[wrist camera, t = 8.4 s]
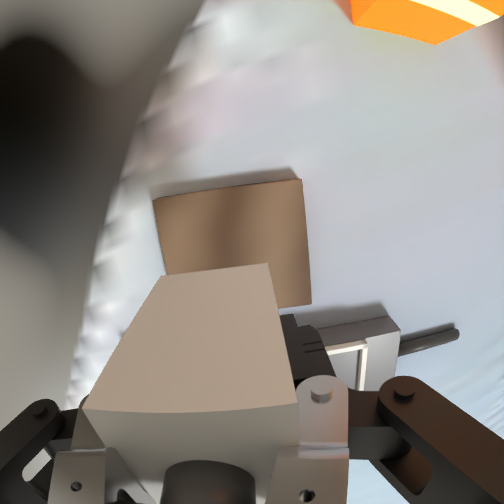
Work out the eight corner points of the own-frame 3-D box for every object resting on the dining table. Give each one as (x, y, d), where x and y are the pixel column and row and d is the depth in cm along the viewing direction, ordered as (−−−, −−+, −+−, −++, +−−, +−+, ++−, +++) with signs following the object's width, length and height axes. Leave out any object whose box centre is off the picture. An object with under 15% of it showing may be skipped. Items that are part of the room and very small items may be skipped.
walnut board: (298, 178, 21) (301, 179, 20) (308, 297, 24) (311, 304, 22) (157, 198, 21) (152, 200, 20) (181, 312, 24) (178, 319, 23)
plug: (267, 262, 11) (313, 475, 3) (279, 370, 13) (308, 556, 5) (160, 276, 11) (52, 464, 3) (189, 379, 13) (156, 556, 5)
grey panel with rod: (461, 298, 24) (479, 313, 21) (449, 357, 26) (463, 374, 23) (135, 346, 25) (124, 367, 22) (157, 403, 27) (150, 425, 24)
